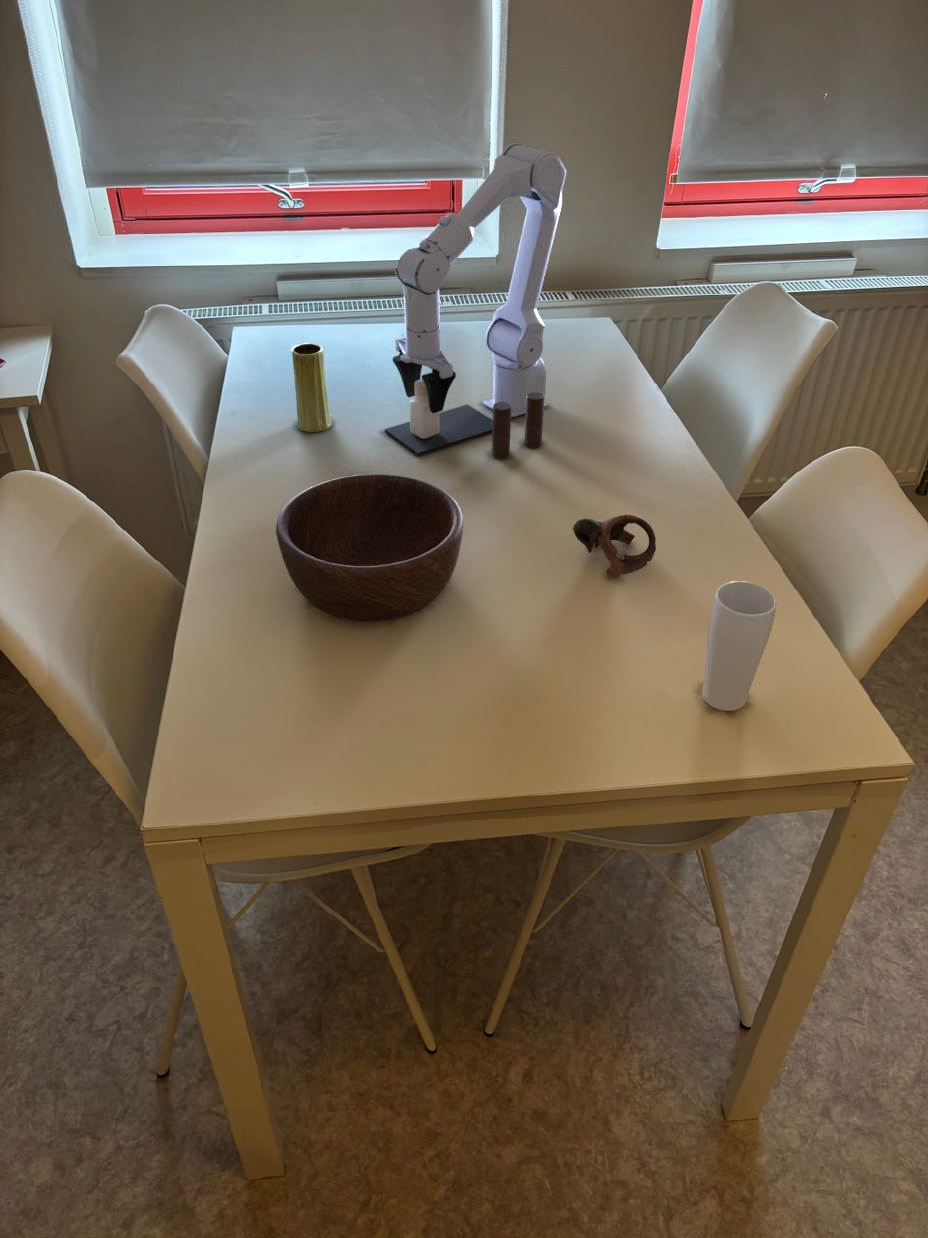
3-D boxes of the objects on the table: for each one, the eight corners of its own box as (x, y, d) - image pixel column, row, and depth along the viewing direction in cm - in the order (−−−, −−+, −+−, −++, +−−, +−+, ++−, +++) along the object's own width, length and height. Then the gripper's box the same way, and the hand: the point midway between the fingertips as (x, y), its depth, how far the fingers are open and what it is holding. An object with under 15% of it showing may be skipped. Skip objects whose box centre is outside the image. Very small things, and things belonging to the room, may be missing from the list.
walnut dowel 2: (534, 438, 169) (536, 390, 164) (545, 444, 167) (548, 396, 162) (520, 442, 168) (523, 394, 162) (531, 449, 166) (533, 400, 160)
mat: (467, 407, 179) (467, 404, 179) (502, 429, 172) (502, 426, 172) (384, 432, 171) (384, 428, 171) (418, 456, 164) (418, 453, 163)
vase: (334, 418, 175) (328, 342, 166) (327, 433, 170) (320, 356, 162) (301, 416, 176) (293, 341, 167) (293, 431, 171) (285, 354, 162)
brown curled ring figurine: (649, 545, 143) (667, 518, 135) (635, 599, 139) (653, 575, 131) (573, 519, 143) (587, 491, 135) (556, 572, 139) (570, 547, 131)
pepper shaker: (423, 440, 167) (422, 389, 161) (409, 432, 169) (407, 381, 164) (440, 433, 169) (440, 382, 163) (426, 426, 171) (425, 375, 166)
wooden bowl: (264, 554, 140) (255, 492, 133) (424, 519, 148) (423, 459, 141) (312, 655, 121) (304, 588, 115) (492, 608, 129) (494, 544, 123)
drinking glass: (688, 681, 118) (707, 581, 109) (742, 678, 118) (765, 578, 109) (703, 719, 112) (725, 617, 103) (760, 716, 113) (786, 614, 104)
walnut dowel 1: (502, 448, 166) (504, 400, 161) (513, 455, 164) (514, 406, 159) (488, 453, 165) (489, 404, 159) (498, 460, 163) (500, 411, 157)
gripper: (378, 318, 160) (383, 394, 169) (426, 345, 151) (428, 424, 159) (414, 309, 164) (416, 384, 172) (463, 335, 154) (463, 413, 162)
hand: (424, 403), depth 166 cm, fingers open, 7 cm apart
